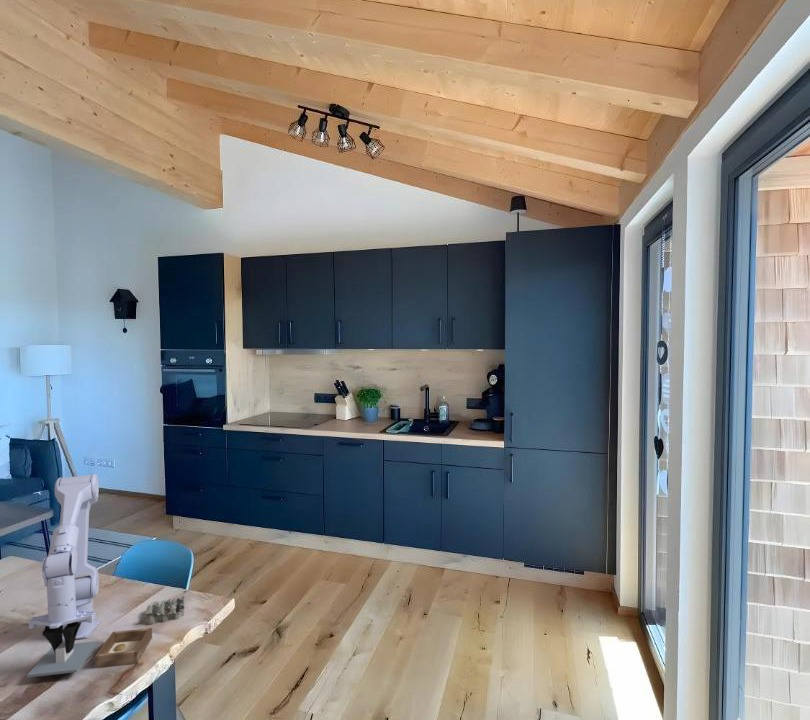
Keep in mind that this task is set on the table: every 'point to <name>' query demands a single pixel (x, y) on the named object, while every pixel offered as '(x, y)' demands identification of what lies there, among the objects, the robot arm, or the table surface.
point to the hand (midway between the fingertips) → (64, 651)
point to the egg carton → (163, 605)
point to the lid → (63, 659)
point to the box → (123, 648)
